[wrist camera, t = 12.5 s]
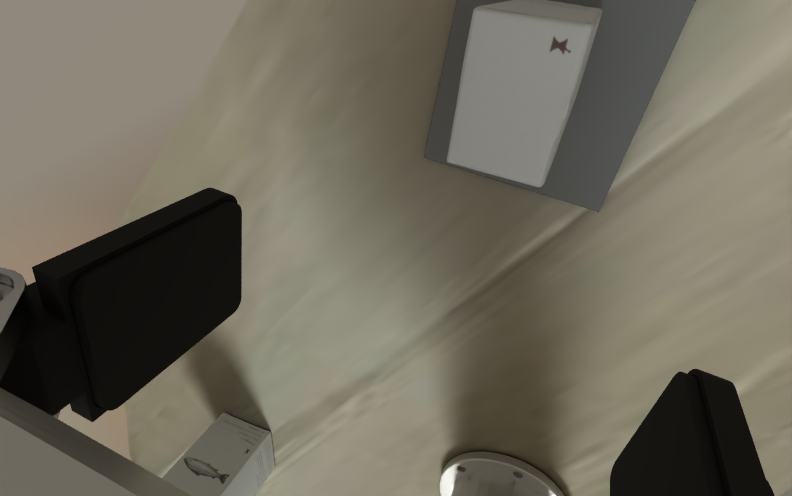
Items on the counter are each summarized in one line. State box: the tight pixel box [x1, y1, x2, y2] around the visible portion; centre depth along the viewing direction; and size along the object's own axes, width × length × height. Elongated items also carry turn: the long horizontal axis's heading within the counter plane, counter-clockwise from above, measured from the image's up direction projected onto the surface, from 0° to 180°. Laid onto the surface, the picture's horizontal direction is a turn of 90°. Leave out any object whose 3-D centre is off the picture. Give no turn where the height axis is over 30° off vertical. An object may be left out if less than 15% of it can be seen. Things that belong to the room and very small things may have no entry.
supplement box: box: [162, 413, 275, 496], centre depth 55 cm, size 7×7×13 cm
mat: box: [424, 0, 696, 212], centre depth 27 cm, size 16×12×1 cm
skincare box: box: [447, 0, 603, 187], centre depth 22 cm, size 6×4×12 cm
